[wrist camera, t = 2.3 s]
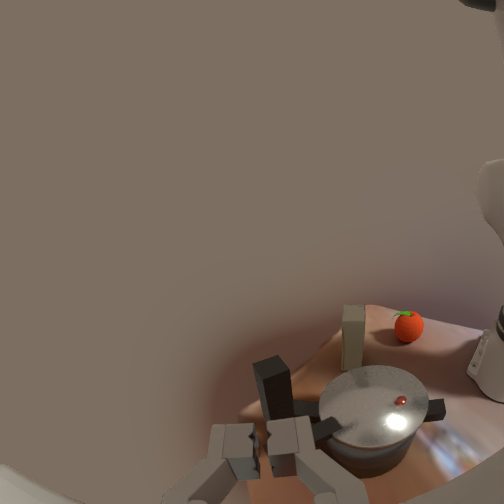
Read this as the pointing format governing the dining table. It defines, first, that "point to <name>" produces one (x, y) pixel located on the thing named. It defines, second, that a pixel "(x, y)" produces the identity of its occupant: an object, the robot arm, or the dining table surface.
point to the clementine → (408, 326)
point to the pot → (366, 460)
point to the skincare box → (352, 336)
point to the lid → (351, 404)
